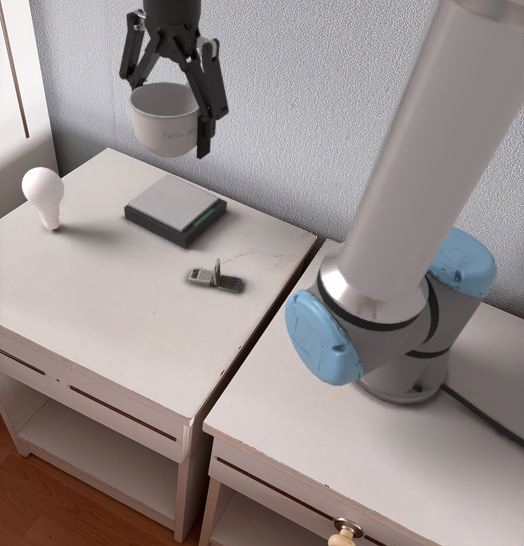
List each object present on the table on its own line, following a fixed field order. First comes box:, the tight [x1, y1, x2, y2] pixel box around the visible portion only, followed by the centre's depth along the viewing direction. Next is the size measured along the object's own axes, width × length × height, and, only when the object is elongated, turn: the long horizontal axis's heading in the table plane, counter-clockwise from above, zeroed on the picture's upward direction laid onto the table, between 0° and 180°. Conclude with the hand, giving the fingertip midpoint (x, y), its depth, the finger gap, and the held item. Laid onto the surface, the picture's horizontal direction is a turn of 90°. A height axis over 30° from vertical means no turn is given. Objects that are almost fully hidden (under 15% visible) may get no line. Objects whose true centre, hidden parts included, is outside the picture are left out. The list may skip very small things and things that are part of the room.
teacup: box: [128, 81, 202, 159], centre depth 79 cm, size 14×11×8 cm
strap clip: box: [188, 257, 243, 293], centre depth 82 cm, size 8×3×4 cm, turn 81°
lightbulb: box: [21, 166, 65, 230], centre depth 83 cm, size 6×6×11 cm
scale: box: [123, 173, 228, 250], centre depth 92 cm, size 13×13×3 cm
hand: (173, 141), depth 82 cm, fingers closed on teacup, 11 cm apart
